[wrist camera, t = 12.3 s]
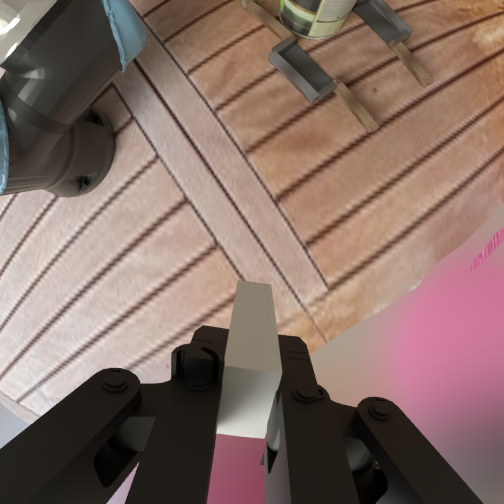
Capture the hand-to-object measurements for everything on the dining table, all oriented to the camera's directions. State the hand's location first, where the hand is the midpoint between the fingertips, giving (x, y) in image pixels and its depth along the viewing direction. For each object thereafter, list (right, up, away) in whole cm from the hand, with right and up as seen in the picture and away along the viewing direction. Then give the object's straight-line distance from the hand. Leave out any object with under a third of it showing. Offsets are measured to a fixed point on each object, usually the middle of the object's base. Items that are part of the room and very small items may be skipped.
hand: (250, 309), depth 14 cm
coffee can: (+9, +39, +21) cm, 45 cm away
